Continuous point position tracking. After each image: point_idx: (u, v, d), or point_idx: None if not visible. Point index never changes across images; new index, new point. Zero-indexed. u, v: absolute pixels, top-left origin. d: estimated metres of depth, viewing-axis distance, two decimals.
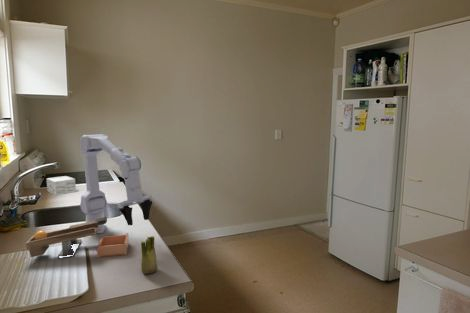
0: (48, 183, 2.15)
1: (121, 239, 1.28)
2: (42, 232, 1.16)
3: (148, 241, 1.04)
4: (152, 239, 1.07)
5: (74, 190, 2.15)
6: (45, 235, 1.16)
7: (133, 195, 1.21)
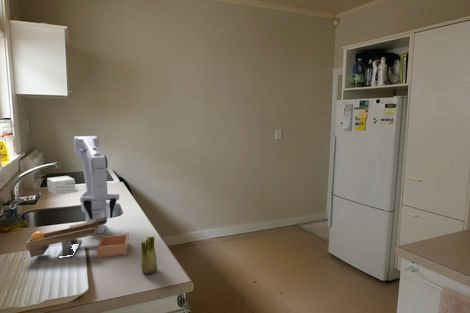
0: (48, 183, 2.15)
1: (121, 239, 1.28)
2: (36, 232, 1.15)
3: (148, 241, 1.04)
4: (152, 239, 1.07)
5: (73, 190, 2.15)
6: (40, 234, 1.16)
7: (93, 193, 1.27)
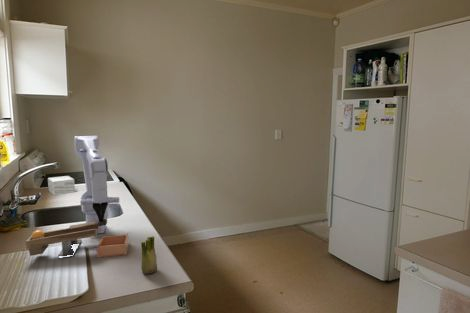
0: (49, 183, 2.16)
1: (121, 239, 1.28)
2: (37, 231, 1.15)
3: (148, 241, 1.04)
4: (152, 239, 1.07)
5: (73, 190, 2.14)
6: (41, 233, 1.16)
7: (93, 196, 1.27)
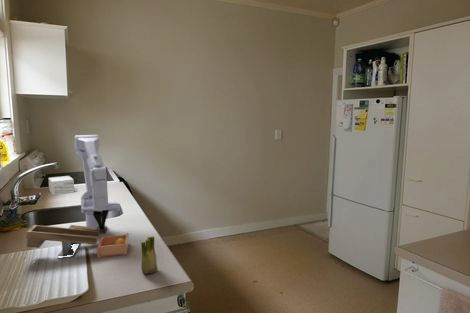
0: (49, 183, 2.16)
1: None
2: None
3: (148, 241, 1.04)
4: (152, 239, 1.07)
5: (72, 191, 2.14)
6: None
7: (94, 204, 1.27)
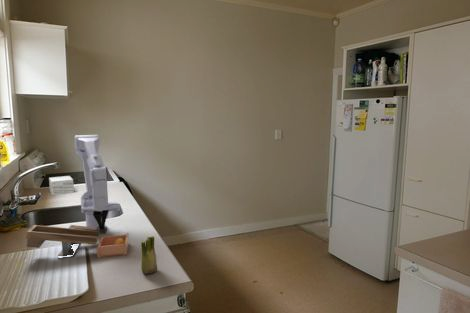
0: (49, 182, 2.16)
1: None
2: None
3: (148, 241, 1.04)
4: (152, 239, 1.07)
5: (72, 191, 2.13)
6: None
7: (94, 204, 1.27)
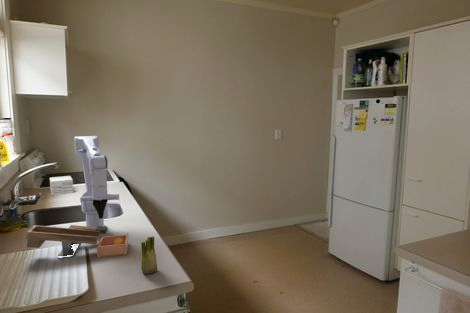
0: None
1: None
2: None
3: (148, 241, 1.04)
4: (152, 239, 1.07)
5: (71, 191, 2.13)
6: None
7: (93, 193, 1.27)
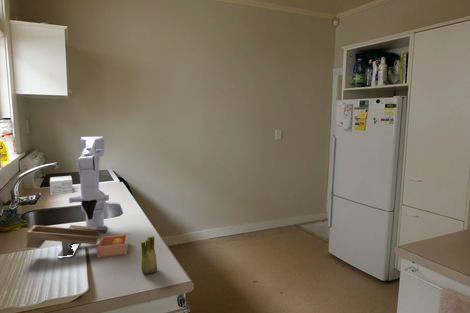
0: None
1: None
2: None
3: (148, 241, 1.04)
4: (152, 239, 1.07)
5: (71, 191, 2.13)
6: None
7: (82, 193, 1.26)
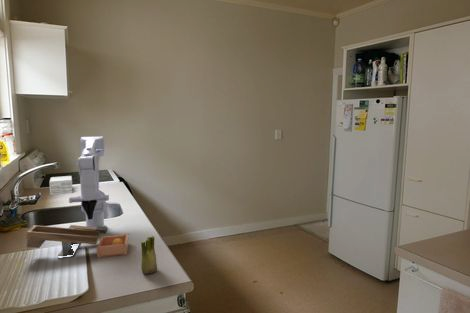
0: None
1: (121, 239, 1.28)
2: (122, 243, 1.24)
3: (148, 241, 1.04)
4: (152, 239, 1.07)
5: (70, 191, 2.12)
6: None
7: (82, 193, 1.26)
